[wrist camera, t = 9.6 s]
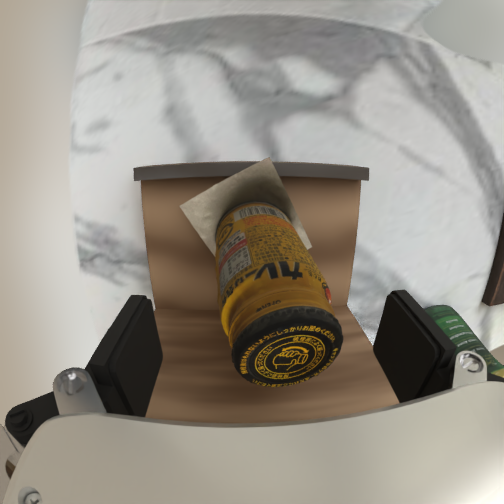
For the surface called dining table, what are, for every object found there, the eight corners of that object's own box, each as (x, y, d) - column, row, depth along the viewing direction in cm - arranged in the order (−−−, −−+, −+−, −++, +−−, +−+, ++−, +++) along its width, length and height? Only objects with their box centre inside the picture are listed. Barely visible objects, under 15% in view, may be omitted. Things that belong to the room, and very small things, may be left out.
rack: (149, 165, 23) (-7, 200, 6) (350, 165, 23) (514, 200, 6) (163, 306, 27) (102, 458, 10) (337, 303, 28) (415, 444, 11)
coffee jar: (412, 304, 29) (506, 410, 11) (455, 300, 29) (542, 383, 12) (390, 365, 32) (450, 471, 14) (432, 357, 32) (495, 444, 15)
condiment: (235, 284, 24) (256, 409, 14) (179, 205, 20) (154, 325, 10) (311, 245, 23) (378, 356, 13) (268, 156, 19) (341, 231, 9)
